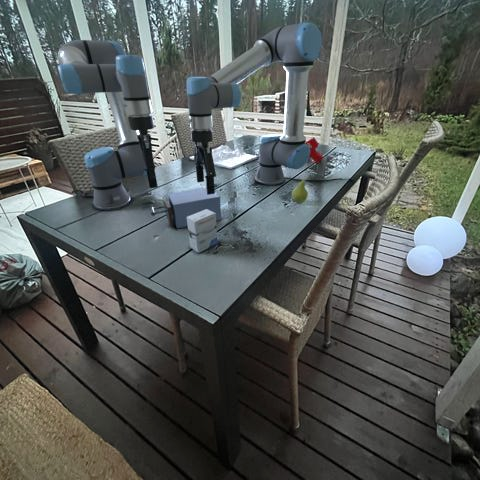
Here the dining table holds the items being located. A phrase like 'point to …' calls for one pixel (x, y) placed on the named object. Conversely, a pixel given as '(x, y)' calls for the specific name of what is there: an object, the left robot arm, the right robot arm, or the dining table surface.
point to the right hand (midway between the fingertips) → (205, 187)
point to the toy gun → (313, 153)
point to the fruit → (300, 192)
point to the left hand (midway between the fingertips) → (153, 187)
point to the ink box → (202, 230)
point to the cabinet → (193, 204)
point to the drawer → (167, 210)
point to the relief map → (229, 157)
